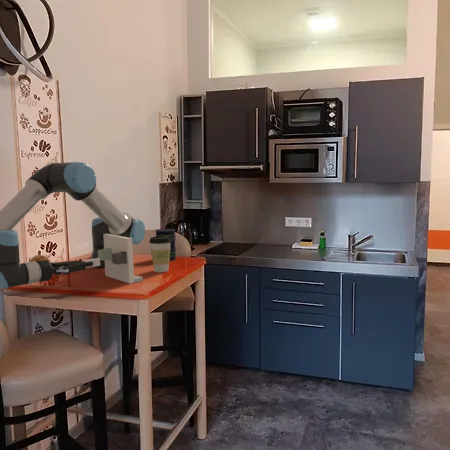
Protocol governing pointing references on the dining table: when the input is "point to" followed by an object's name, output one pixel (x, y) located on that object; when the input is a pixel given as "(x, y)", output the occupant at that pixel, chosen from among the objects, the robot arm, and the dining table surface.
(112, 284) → the dining table surface
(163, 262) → the coffee cup
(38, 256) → the onion
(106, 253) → the sage button
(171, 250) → the storage jar
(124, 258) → the black button
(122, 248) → the button panel
